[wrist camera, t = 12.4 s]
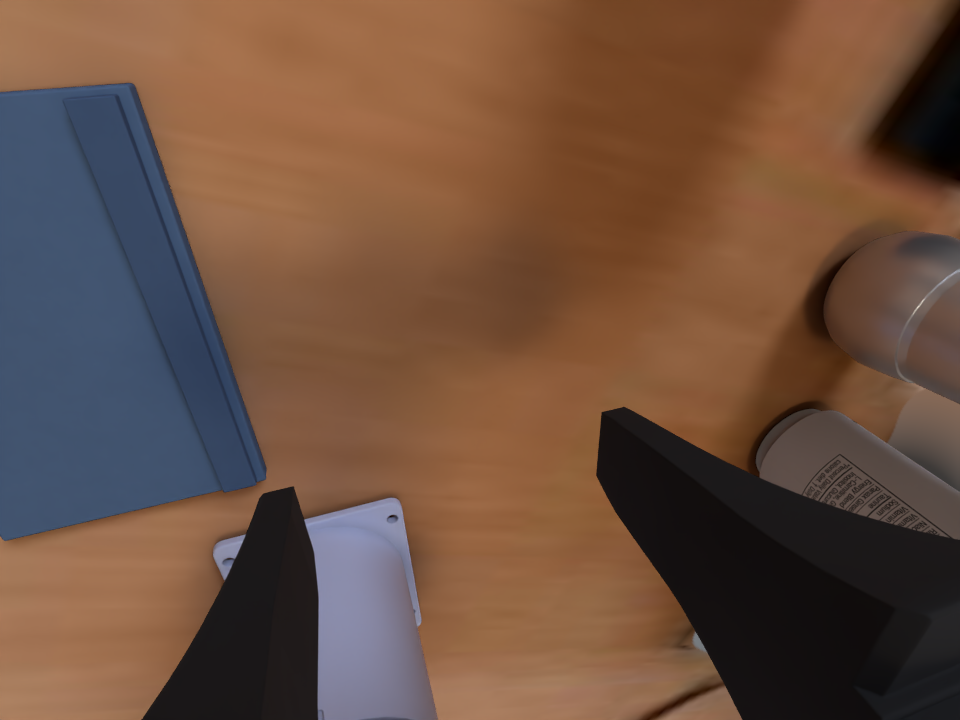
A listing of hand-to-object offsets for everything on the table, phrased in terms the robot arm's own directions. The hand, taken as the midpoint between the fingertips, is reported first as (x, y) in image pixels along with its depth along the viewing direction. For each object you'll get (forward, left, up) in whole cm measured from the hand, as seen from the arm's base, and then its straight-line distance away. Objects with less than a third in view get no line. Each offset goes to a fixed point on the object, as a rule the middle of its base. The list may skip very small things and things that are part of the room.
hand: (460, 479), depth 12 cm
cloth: (+1, +11, -9) cm, 14 cm away
